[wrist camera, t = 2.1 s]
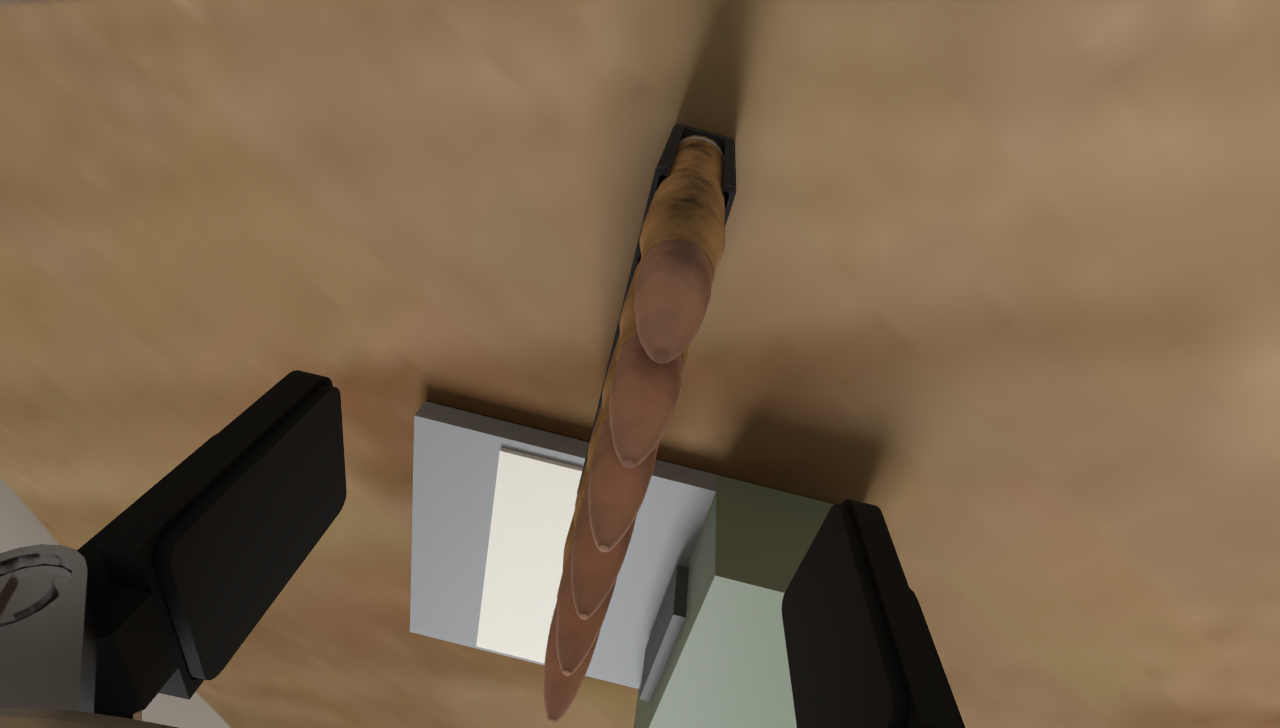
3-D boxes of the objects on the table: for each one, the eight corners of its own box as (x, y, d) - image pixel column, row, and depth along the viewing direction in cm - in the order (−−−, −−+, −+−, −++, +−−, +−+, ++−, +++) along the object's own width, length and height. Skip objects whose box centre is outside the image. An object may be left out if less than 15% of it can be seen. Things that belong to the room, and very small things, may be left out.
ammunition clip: (649, 422, 22) (588, 756, 12) (603, 410, 22) (502, 734, 12) (736, 138, 17) (758, 310, 7) (674, 122, 17) (603, 267, 7)
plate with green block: (860, 510, 23) (892, 619, 19) (751, 697, 30) (756, 807, 26) (425, 401, 23) (358, 486, 19) (419, 614, 30) (369, 711, 26)
